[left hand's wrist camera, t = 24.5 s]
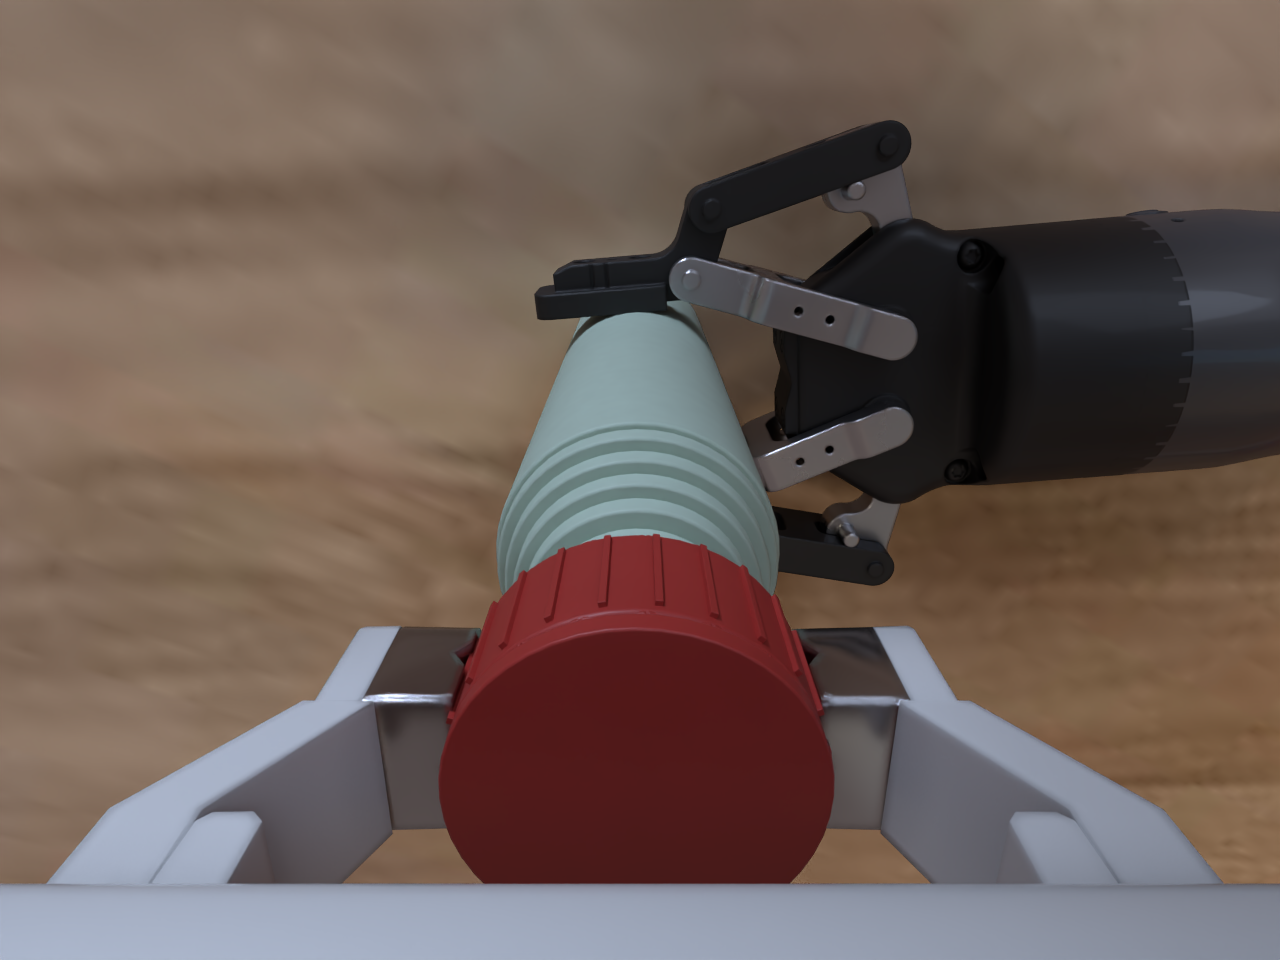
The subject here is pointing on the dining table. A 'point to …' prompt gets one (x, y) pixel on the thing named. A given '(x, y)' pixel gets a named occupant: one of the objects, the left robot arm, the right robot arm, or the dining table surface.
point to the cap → (636, 726)
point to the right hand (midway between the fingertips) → (552, 393)
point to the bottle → (638, 451)
